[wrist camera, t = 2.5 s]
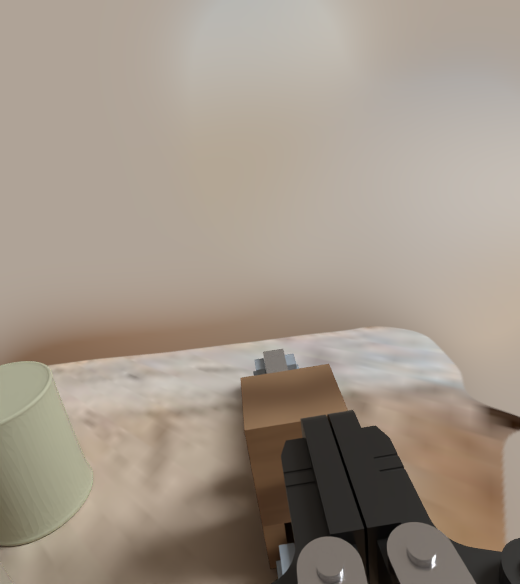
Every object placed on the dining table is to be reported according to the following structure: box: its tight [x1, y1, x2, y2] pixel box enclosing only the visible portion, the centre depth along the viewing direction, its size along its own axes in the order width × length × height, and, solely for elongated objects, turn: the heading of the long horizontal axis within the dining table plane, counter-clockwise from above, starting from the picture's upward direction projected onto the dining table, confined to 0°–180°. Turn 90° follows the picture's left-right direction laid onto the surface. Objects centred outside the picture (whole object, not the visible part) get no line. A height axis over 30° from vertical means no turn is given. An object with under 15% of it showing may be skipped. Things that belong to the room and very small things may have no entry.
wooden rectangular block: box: [241, 364, 348, 569], centre depth 29 cm, size 5×6×12 cm
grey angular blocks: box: [253, 354, 299, 579], centre depth 38 cm, size 24×5×4 cm, turn 5°
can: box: [0, 361, 93, 546], centre depth 36 cm, size 9×9×12 cm
